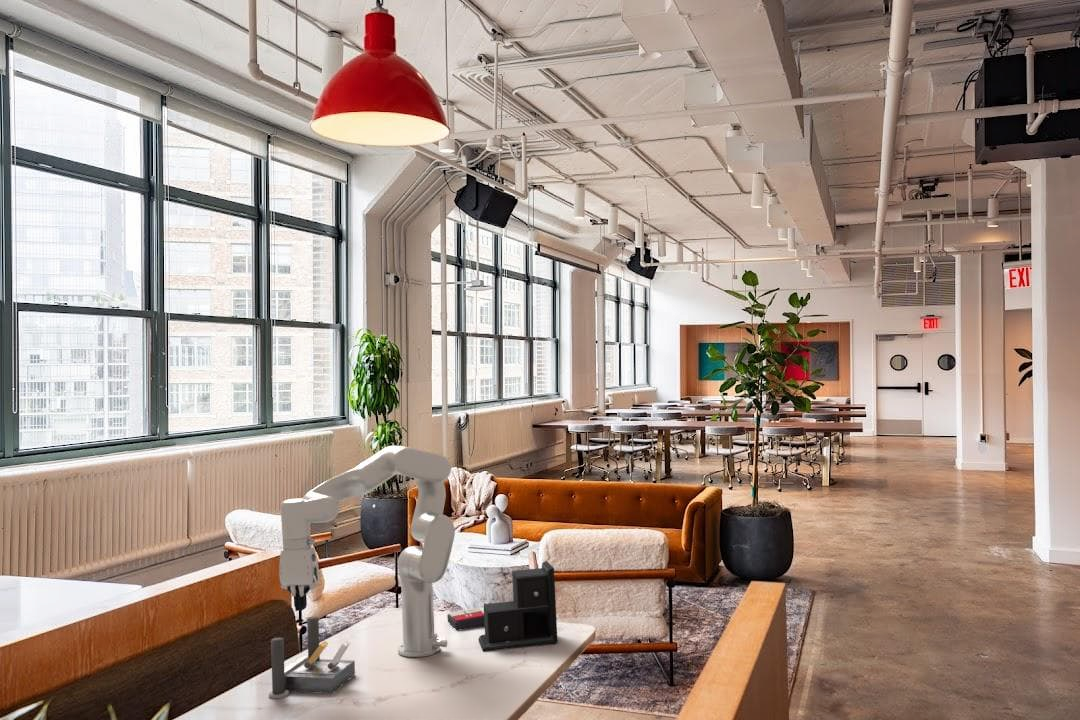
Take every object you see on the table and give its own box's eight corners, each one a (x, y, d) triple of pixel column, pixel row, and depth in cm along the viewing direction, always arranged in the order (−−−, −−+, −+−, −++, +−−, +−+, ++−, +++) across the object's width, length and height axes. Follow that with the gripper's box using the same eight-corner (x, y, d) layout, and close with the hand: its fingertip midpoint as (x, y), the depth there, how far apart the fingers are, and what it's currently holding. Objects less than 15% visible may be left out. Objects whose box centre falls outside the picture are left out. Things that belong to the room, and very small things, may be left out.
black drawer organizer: (482, 652, 256) (480, 573, 256) (478, 641, 267) (475, 566, 267) (558, 644, 261) (555, 567, 261) (550, 634, 271) (548, 560, 272)
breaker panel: (354, 674, 240) (354, 657, 240) (332, 693, 226) (332, 675, 226) (302, 672, 243) (302, 655, 243) (277, 690, 229) (277, 672, 229)
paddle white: (337, 665, 235) (351, 643, 234) (331, 670, 232) (345, 647, 231) (332, 662, 235) (346, 639, 235) (326, 666, 232) (341, 643, 231)
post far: (326, 666, 247) (324, 615, 248) (318, 672, 243) (316, 620, 243) (310, 666, 248) (308, 615, 249) (302, 672, 244) (300, 620, 244)
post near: (292, 692, 228) (290, 636, 228) (282, 699, 223) (281, 642, 223) (275, 691, 229) (273, 636, 229) (265, 698, 224) (263, 642, 224)
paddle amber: (313, 665, 237) (329, 643, 236) (307, 669, 233) (323, 647, 232) (309, 661, 237) (325, 640, 236) (303, 665, 233) (319, 644, 233)
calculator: (446, 612, 289) (488, 604, 294) (447, 624, 289) (489, 616, 294) (455, 620, 279) (498, 612, 284) (456, 633, 279) (499, 624, 284)
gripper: (327, 540, 238) (331, 605, 238) (279, 541, 241) (283, 605, 242) (315, 546, 231) (319, 613, 231) (265, 547, 234) (269, 613, 234)
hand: (300, 609), depth 236 cm, fingers closed
